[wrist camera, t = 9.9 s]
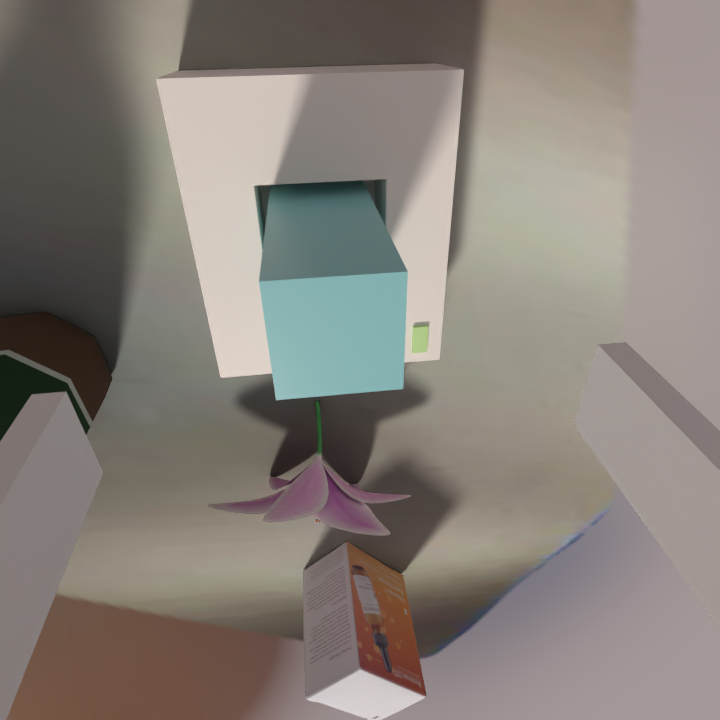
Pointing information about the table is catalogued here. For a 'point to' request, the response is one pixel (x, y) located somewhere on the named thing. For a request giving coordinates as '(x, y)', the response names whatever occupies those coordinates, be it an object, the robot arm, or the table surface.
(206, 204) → the port
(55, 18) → the table surface
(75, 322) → the table surface
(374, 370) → the plug
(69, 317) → the table surface
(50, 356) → the beer bottle
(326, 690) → the small box
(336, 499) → the lily
